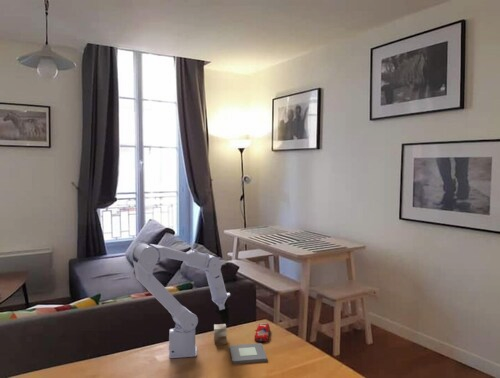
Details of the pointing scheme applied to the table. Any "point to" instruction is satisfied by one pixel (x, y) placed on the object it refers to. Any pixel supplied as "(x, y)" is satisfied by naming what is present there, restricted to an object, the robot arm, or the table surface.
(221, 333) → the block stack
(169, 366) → the table surface
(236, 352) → the base plate
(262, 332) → the race car
